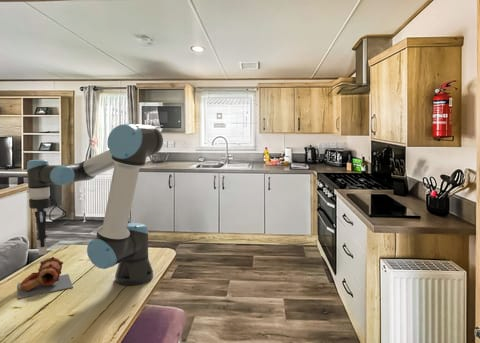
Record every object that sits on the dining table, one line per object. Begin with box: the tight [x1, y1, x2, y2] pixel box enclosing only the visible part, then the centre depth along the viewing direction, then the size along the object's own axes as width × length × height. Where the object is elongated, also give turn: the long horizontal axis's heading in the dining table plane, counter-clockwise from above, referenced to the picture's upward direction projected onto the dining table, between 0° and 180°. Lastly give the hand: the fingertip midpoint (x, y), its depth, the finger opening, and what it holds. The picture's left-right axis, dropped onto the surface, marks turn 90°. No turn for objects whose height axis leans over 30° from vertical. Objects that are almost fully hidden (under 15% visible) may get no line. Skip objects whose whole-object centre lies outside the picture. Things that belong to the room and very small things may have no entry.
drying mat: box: [17, 273, 74, 300], centre depth 138 cm, size 15×18×1 cm
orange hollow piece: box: [20, 256, 64, 291], centre depth 140 cm, size 15×8×15 cm
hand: (42, 254), depth 145 cm, fingers closed
